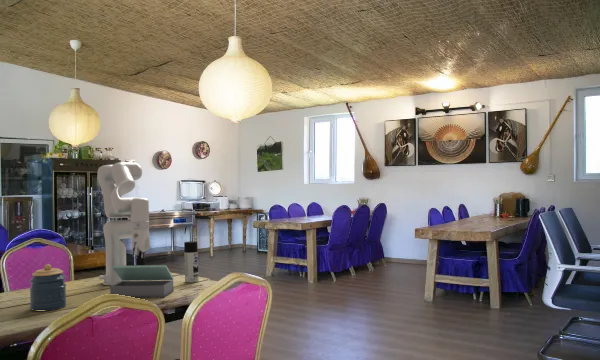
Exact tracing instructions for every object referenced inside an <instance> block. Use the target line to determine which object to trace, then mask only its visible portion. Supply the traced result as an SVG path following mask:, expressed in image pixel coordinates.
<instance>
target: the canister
mask: <svg viewBox="0 0 600 360" xmlns="http://www.w3.org/2000/svg"><path fill="white" fill-rule="evenodd" d="M64 272H65V271H64V270H62V269H61V268H58V267H52V265H51V264H50V263H47V264H44V266H43V268H41V269H37V270H35V272H32V273H31V275H32V278H30V279H29V282H30V287H29V297H30V299H29V300H30V301H29V308H30V310H31V309H33V310H51V311H54V310H53V309H56V310H59V308H60V309H63V308H64V307H66V304H67V295H66V294H67V292H66V291H67V290H66V288H67V284H66V281H65V280H66V278H67V277H66V275H64Z"/></svg>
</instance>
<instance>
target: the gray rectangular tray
mask: <svg viewBox="0 0 600 360" xmlns="http://www.w3.org/2000/svg"><path fill="white" fill-rule="evenodd" d="M109 289H110V290H109V295H110V294H119V295H125V296H131V297H137V298H136V299H138V298H140V299H142V298H144V299H146V297H147V298H148V299H150V298H149V297H157V299H158V297H160V298H163V299H164V298H167V297H168V296H169V295H170V294H172V293H173V292H174V279H173V280H133V281H121V282H119V283H117V284H114V285H109ZM160 298H159V299H160Z"/></svg>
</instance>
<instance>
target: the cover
mask: <svg viewBox="0 0 600 360" xmlns="http://www.w3.org/2000/svg"><path fill="white" fill-rule="evenodd" d="M112 268H113V269H114V271H115V272H116V273H117V275H118V276H119V277H120V279H121V280H122V281H161V280H173V281H174V276H173V275H172V273H171V271H170V269H169V268H168V266H167V264H158V265H157V264H152V265H151V264H149V265H146V264H145V265H137V264H136V265H126V266H113V267H112Z"/></svg>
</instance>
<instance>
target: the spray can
mask: <svg viewBox="0 0 600 360" xmlns="http://www.w3.org/2000/svg"><path fill="white" fill-rule="evenodd" d="M183 244H184V246H183V249H184V250H183V252H184V253H183V254H184V279H185V280H184V281H185V283H187V282H188V283H189V284H190V283H192V284H193V283H198V282H199V278H200V276H199V251H198V250H199V249H198V245H199V244H198V241H193V240H191V241H184V242H183Z"/></svg>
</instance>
